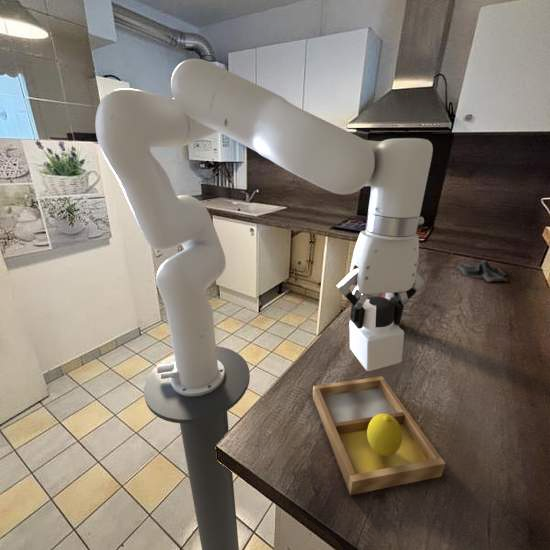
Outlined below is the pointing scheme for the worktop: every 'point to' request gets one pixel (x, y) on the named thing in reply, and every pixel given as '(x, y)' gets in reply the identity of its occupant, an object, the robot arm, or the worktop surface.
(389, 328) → the medicine bottle
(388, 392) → the tray
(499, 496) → the worktop surface
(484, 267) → the cloth
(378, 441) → the lemon
